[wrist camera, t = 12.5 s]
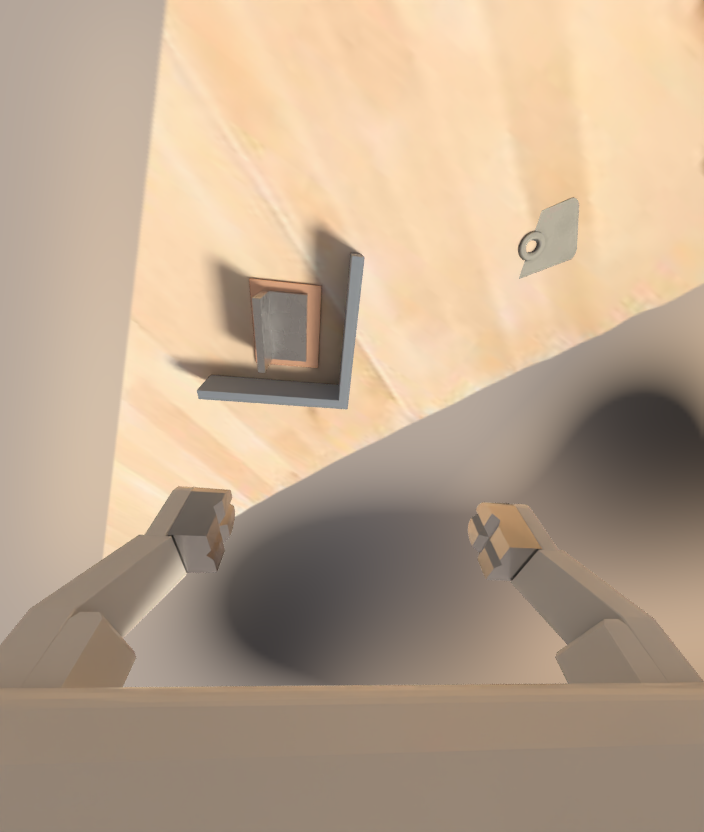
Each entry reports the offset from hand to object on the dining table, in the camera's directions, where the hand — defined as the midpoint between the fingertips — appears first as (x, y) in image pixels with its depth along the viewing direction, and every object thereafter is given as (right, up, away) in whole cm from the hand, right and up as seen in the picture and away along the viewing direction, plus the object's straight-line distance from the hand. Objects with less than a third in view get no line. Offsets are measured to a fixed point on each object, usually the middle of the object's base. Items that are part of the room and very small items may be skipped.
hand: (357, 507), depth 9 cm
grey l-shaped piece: (-9, +14, +25) cm, 30 cm away
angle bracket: (-8, +14, +25) cm, 30 cm away
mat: (-8, +14, +25) cm, 30 cm away
